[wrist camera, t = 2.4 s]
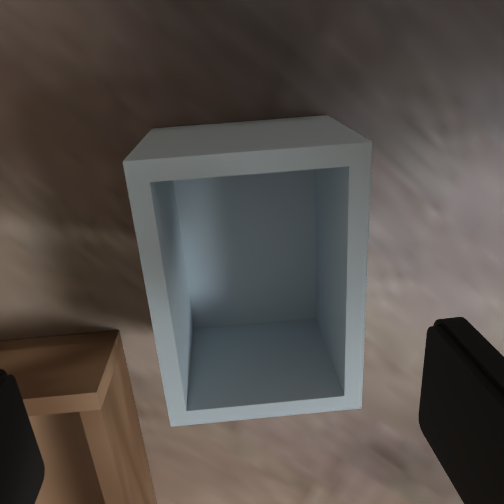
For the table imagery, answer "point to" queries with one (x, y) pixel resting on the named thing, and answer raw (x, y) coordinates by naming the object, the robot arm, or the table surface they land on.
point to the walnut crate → (82, 417)
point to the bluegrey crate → (254, 264)
